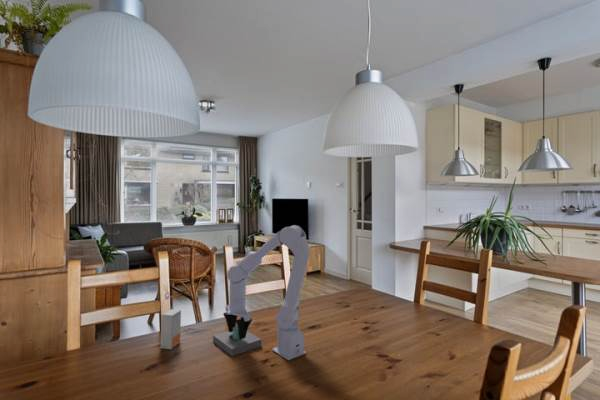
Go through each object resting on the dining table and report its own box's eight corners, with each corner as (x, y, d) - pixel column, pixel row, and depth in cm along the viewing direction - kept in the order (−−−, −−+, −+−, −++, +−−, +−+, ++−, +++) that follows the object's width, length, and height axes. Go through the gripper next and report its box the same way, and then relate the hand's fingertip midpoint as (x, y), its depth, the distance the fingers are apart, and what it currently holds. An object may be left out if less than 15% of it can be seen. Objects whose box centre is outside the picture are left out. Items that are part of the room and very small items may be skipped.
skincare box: (171, 349, 114) (171, 315, 114) (160, 348, 115) (160, 314, 115) (180, 342, 120) (181, 310, 120) (170, 341, 121) (171, 309, 121)
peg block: (261, 346, 118) (261, 339, 118) (231, 356, 110) (231, 349, 110) (241, 333, 128) (241, 327, 128) (213, 342, 120) (213, 335, 120)
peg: (242, 344, 119) (242, 328, 119) (235, 346, 117) (235, 330, 117) (238, 341, 121) (238, 325, 121) (231, 343, 119) (231, 327, 119)
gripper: (218, 295, 122) (217, 331, 122) (238, 305, 111) (237, 344, 111) (235, 291, 126) (234, 326, 126) (255, 301, 115) (254, 339, 116)
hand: (237, 334), depth 119 cm, fingers open, 7 cm apart
